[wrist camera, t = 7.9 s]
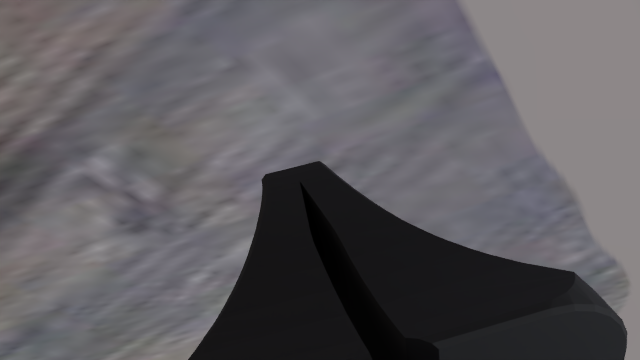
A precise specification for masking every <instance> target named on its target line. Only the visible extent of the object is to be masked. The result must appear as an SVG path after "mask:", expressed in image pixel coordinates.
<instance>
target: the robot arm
mask: <svg viewBox="0 0 640 360" xmlns="http://www.w3.org/2000/svg"><path fill="white" fill-rule="evenodd" d="M626 348H627V331H626V328H625V326H624V323H623V321H622V319H621V318H620V317H619V316H618V315H617V314H616V313H615V312H614V311H613V310H612V308H611V307H610V306H609V305H608V304H607V303H606V302H605V301H604V300H603V299H602V298H601V297H600V296H599V295H598V294H597V293H596V292H595V291H594V290H593V289H592V288H591V287H590V286H589V285H588V284H587V283H585V282H584V281H583V280H582V279H581V278H580V277H579V276H578V275H577V274H575V273H574V272H571V271H565V270H560V269H554V268H548V267H543V266H537V265H532V264H526V263H521V262H517V261H513V260H509V259H505V258H501V257H497V256H493V255H489V254H486V253H483V252H480V251H476V250H473V249H470V248H467V247H464V246H461V245H459V244H456V243H453V242H450V241H447V240H445V239H442V238H440V237H437V236H435V235H433V234H430V233H428V232H426V231H424V230H422V229H420V228H418V227H415V226H413V225H411V224H409V223H407V222H405V221H403V220H401V219H400V218H398V217H396V216H395V215H393V214H391V213H390V212H388V211H386V210H385V209H383V208H381V207H380V206H378V205H377V204H375V203H374V202H372V201H371V200H370V199H368V198H367V197H365V196H364V195H362V194H361V193H360V192H358V191H357V190H355V189H354V188H353V187H351V186H350V185H349V184H348V183H346V182H345V181H344V180H342V179H341V178H340V177H339V176H338V175H336V174H335V173H334V172H333V171H332V170H330V169H329V168H328V167H327V166H326V165H325V164H323V163H322V162H320V161H317V162H313V163H309V164H305V165H301V166H297V167H293V168H289V169H285V170H281V171H277V172H273V173H269V174H266V175H265V176H264V177H263V179H262V201H261V208H260V213H259V218H258V222H257V227H256V231H255V234H254V237H253V241H252V244H251V247H250V250H249V253H248V256H247V259H246V261H245V264H244V266H243V269H242V271H241V274H240V276H239V278H238V280H237V282H236V285H235V287H234V289H233V291H232V293H231V294H230V296H229V298H228V300H227V302H226V304H225V306H224V307H223V309H222V311H221V313H220V314H219V316H218V318H217V319H216V321H215V322H214V324H213V325H212V327H211V328H210V330H209V331H208V333H207V334H206V336H205V337H204V338H203V340H202V341H201V343H200V344H199V346H198V347H197V348H196V350H195V351H194V353H193V354H192V355H191V357H190V358H189V359H188V360H624V357H625V352H626Z"/></svg>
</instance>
